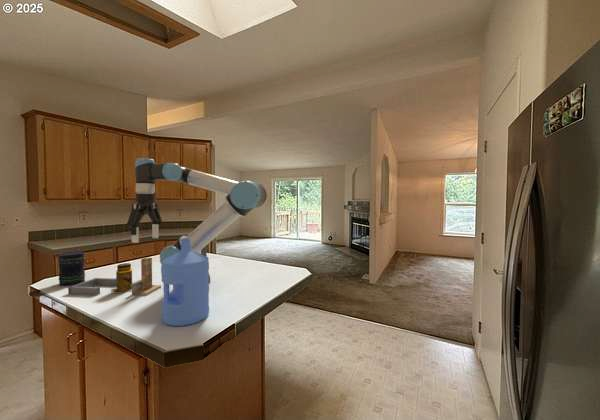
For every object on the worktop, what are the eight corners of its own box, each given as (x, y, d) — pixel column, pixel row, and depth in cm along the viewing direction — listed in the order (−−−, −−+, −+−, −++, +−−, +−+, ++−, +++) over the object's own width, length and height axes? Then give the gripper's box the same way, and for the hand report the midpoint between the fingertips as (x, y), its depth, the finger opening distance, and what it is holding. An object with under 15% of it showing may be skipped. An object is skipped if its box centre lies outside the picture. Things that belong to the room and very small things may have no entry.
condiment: (133, 291, 119) (132, 265, 118) (110, 294, 114) (109, 267, 114) (133, 286, 125) (132, 261, 124) (111, 289, 120) (110, 264, 120)
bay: (121, 284, 127) (121, 278, 127) (97, 295, 113) (96, 288, 113) (95, 283, 128) (95, 277, 128) (68, 294, 114) (68, 287, 114)
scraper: (161, 287, 123) (160, 256, 123) (146, 295, 113) (146, 261, 113) (147, 287, 124) (146, 255, 123) (131, 294, 114) (131, 260, 113)
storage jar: (54, 284, 126) (53, 254, 126) (77, 279, 135) (77, 250, 135) (66, 287, 123) (65, 256, 122) (89, 281, 132) (89, 252, 131)
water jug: (200, 304, 104) (199, 235, 103) (216, 318, 92) (215, 239, 91) (156, 315, 94) (155, 238, 93) (168, 332, 82) (167, 244, 81)
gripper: (155, 193, 129) (155, 236, 130) (115, 192, 105) (116, 244, 105) (169, 194, 129) (169, 236, 130) (133, 192, 104) (134, 245, 105)
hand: (146, 240), depth 118 cm, fingers open, 13 cm apart
